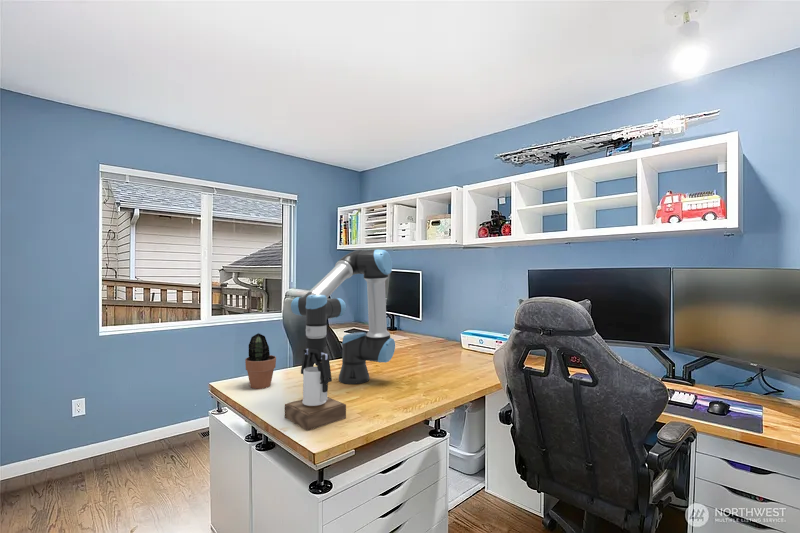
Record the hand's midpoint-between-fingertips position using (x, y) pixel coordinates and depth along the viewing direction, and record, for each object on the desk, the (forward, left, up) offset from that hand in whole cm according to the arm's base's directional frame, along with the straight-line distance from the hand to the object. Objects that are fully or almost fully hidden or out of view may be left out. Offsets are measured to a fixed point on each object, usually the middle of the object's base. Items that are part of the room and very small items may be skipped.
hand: (315, 397), depth 142 cm
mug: (0, 0, -1) cm, 2 cm away
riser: (0, 0, -8) cm, 8 cm away
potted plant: (-51, +3, -8) cm, 52 cm away
